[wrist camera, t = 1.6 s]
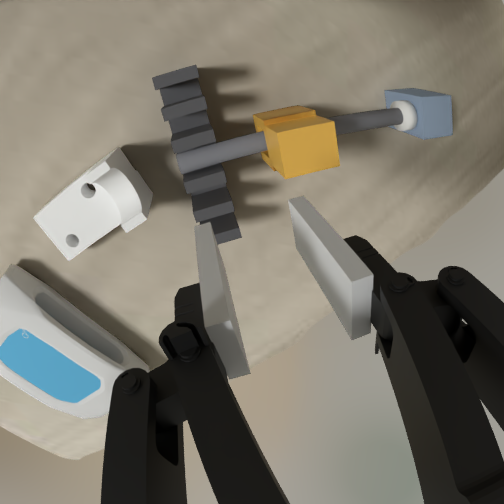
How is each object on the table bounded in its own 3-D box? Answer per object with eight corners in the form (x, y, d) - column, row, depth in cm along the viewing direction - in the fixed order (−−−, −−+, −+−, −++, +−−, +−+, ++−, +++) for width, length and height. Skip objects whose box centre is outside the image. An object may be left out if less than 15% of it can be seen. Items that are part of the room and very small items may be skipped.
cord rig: (201, 221, 39) (205, 253, 32) (158, 78, 29) (150, 77, 23) (417, 165, 40) (451, 183, 34) (407, 43, 31) (445, 43, 24)
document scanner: (87, 401, 53) (84, 426, 48) (-26, 322, 39) (-38, 346, 34) (152, 360, 50) (151, 390, 45) (17, 255, 35) (-1, 280, 30)
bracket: (120, 144, 32) (105, 160, 26) (153, 193, 36) (147, 219, 30) (43, 205, 33) (19, 233, 27) (76, 246, 37) (59, 280, 31)
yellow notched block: (262, 158, 34) (286, 184, 26) (252, 114, 31) (275, 126, 23) (305, 148, 34) (340, 171, 26) (297, 105, 31) (333, 115, 24)
